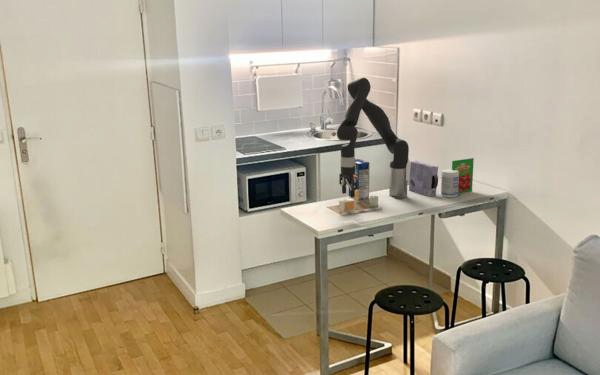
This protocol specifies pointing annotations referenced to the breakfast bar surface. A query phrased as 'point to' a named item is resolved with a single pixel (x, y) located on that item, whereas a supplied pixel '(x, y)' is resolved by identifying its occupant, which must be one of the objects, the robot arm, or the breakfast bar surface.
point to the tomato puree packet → (464, 174)
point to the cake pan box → (423, 178)
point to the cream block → (347, 205)
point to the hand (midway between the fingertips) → (348, 195)
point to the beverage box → (361, 179)
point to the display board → (356, 208)
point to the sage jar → (373, 201)
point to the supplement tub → (449, 183)
